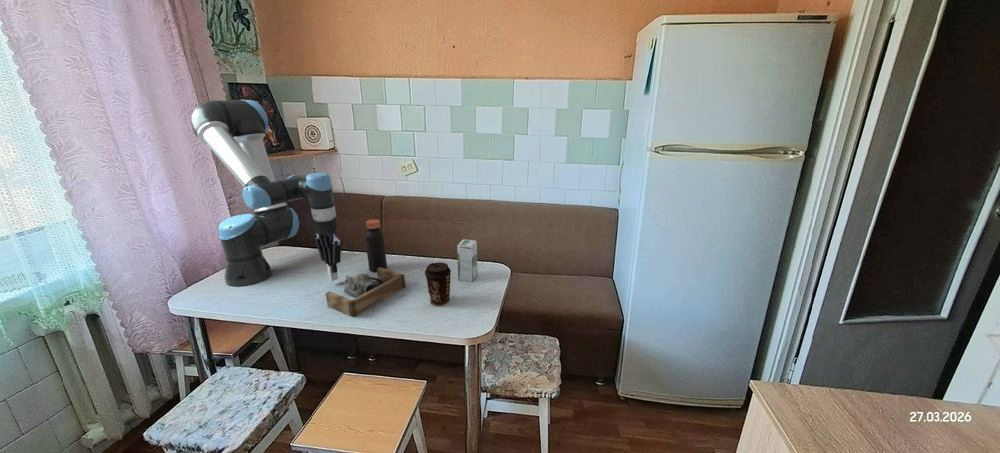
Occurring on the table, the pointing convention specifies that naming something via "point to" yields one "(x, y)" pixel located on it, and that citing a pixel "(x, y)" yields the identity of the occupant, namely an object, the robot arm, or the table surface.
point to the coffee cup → (438, 283)
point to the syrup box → (467, 260)
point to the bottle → (375, 246)
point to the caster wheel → (360, 284)
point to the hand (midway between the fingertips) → (333, 279)
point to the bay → (368, 294)
